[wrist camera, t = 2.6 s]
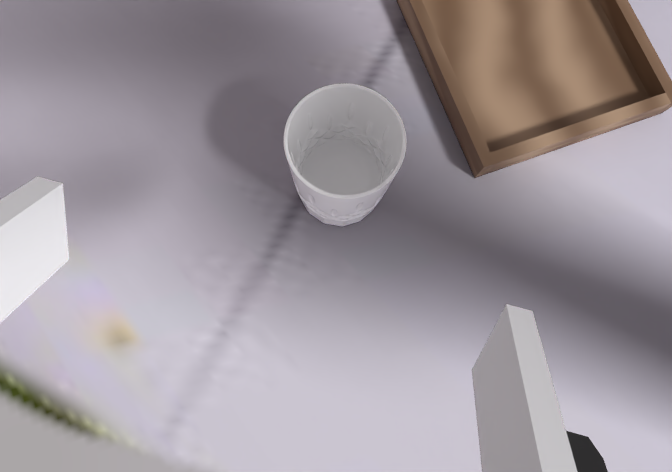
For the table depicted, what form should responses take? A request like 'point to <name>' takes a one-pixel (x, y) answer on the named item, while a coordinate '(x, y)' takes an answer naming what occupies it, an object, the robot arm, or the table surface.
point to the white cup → (343, 151)
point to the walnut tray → (536, 72)
